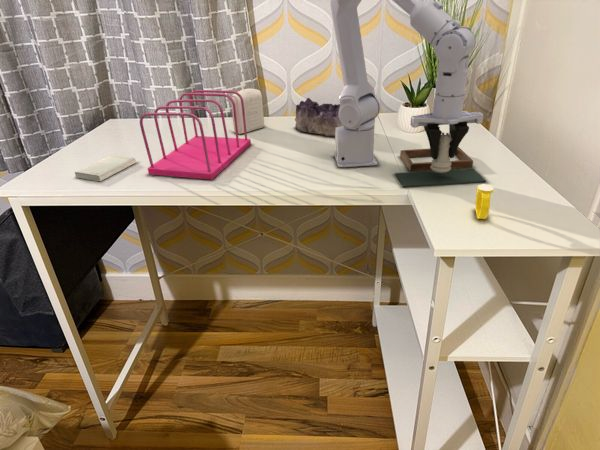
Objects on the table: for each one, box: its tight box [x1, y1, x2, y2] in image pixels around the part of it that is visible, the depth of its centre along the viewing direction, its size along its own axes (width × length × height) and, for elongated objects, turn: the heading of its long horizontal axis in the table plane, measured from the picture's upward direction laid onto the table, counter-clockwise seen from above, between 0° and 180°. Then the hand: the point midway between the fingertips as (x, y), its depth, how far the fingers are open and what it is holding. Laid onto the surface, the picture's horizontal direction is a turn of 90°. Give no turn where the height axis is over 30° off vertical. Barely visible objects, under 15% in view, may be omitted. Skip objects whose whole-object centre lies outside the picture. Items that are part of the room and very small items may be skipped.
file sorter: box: [139, 89, 252, 181], centre depth 110 cm, size 17×25×16 cm
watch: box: [475, 183, 495, 220], centre depth 80 cm, size 6×3×6 cm, turn 168°
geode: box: [294, 97, 343, 137], centre depth 127 cm, size 20×12×10 cm, turn 64°
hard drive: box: [74, 154, 137, 182], centre depth 110 cm, size 2×8×12 cm
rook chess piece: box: [430, 132, 452, 173], centre depth 93 cm, size 4×4×8 cm
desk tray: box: [399, 146, 474, 172], centre depth 104 cm, size 15×10×2 cm, turn 93°
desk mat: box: [395, 168, 487, 188], centre depth 96 cm, size 18×7×1 cm, turn 93°
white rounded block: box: [230, 88, 265, 135], centre depth 131 cm, size 10×4×12 cm, turn 134°
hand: (441, 157), depth 94 cm, fingers closed on rook chess piece, 3 cm apart
